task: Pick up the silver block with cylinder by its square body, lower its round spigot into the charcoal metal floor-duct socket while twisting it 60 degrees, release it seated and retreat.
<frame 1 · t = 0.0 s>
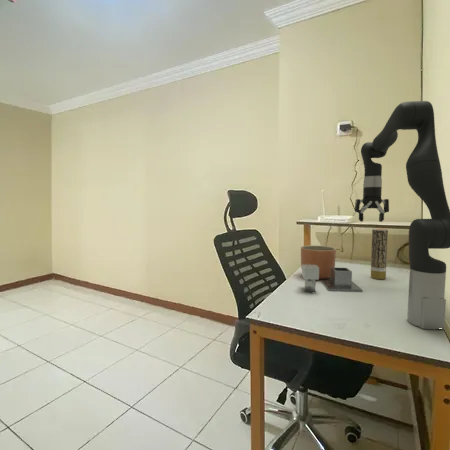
hand: (371, 221, 132), 29 cm above the table, fingers open, 8 cm apart
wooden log: (378, 278, 144), on the table
duct socket: (340, 286, 129), on the table
planter: (317, 277, 146), on the table
silver block with cylinder: (310, 291, 123), on the table
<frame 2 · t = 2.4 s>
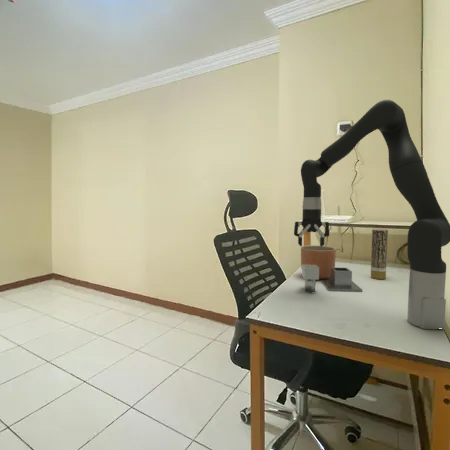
hand: (310, 246, 122), 20 cm above the table, fingers open, 8 cm apart
nothing on the table moved.
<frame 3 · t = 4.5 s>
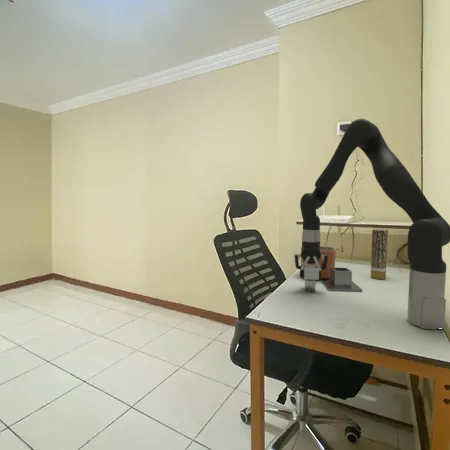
hand: (310, 278, 123), 6 cm above the table, fingers closed on silver block with cylinder, 6 cm apart
silver block with cylinder: (310, 291, 123), on the table, touching gripper
everything else where it was.
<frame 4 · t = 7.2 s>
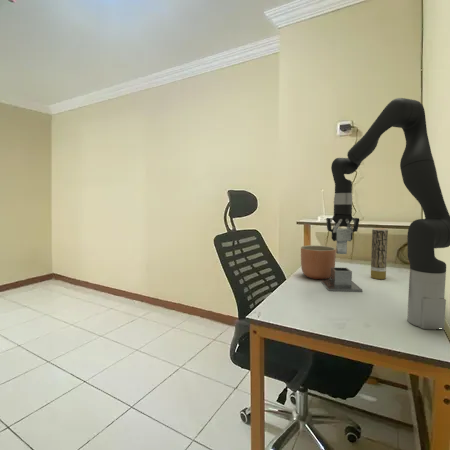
hand: (341, 240, 128), 21 cm above the table, fingers closed on silver block with cylinder, 6 cm apart
silver block with cylinder: (341, 253, 128), point 15 cm above the table, touching gripper
everything else where it was.
when the fingers open (9 cm above the table, at t = 10.3 s): silver block with cylinder stays where it is, resting on duct socket.
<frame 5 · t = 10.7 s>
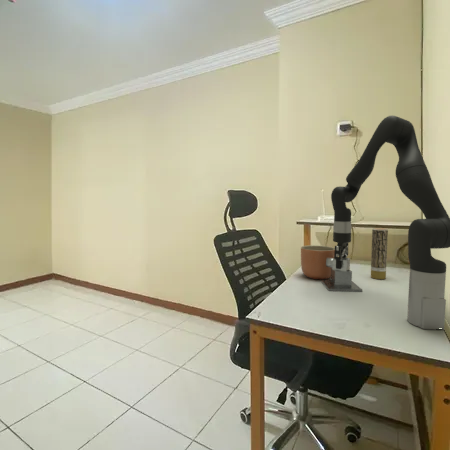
hand: (341, 266, 129), 9 cm above the table, fingers open, 8 cm apart
silver block with cylinder: (340, 282, 129), point 2 cm above the table, touching duct socket
everything else where it was.
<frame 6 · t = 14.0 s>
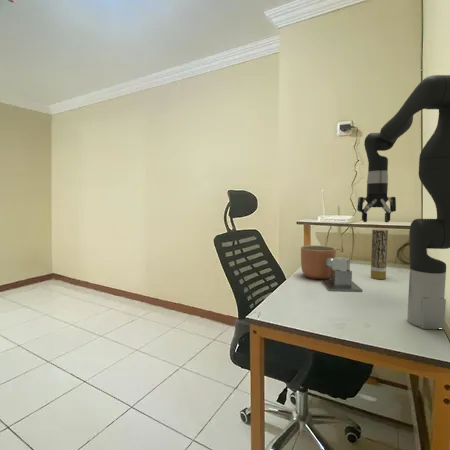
hand: (375, 222, 118), 30 cm above the table, fingers open, 8 cm apart
nothing on the table moved.
at the end: silver block with cylinder 0.0 cm off-centre on the duct socket, point 2.0 cm above the duct socket's base; silver block with cylinder tilted 0°; the gripper is holding nothing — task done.
